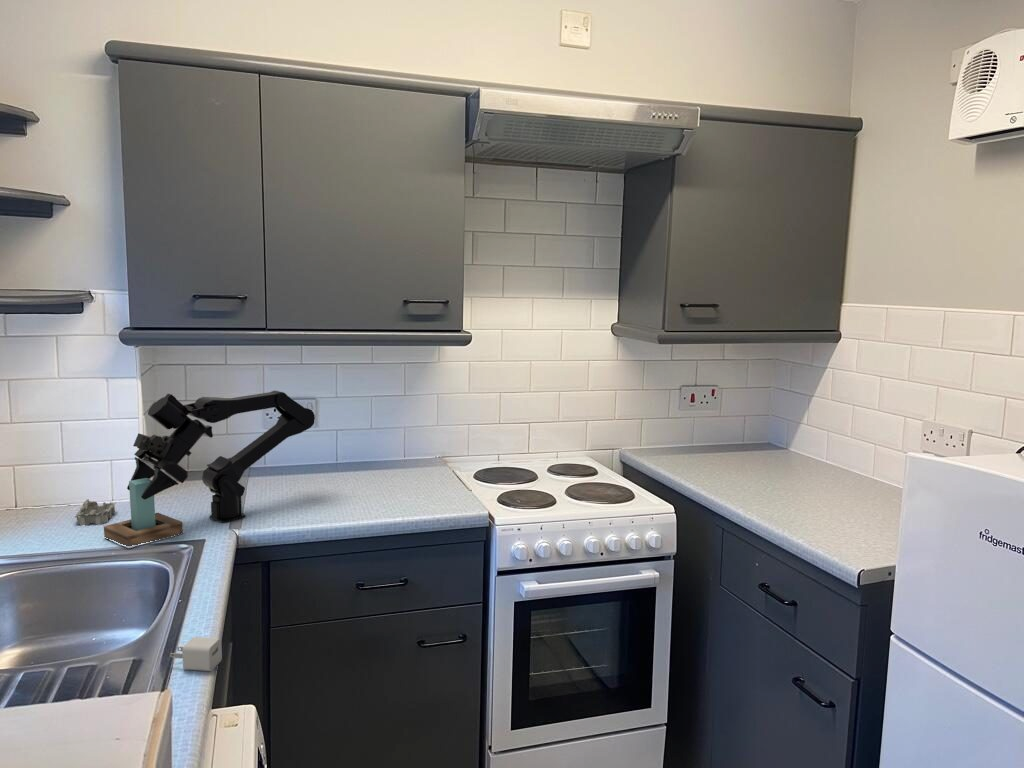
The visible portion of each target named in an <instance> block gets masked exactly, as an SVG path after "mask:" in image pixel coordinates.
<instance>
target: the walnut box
mask: <svg viewBox="0 0 1024 768" xmlns="http://www.w3.org/2000/svg"><path fill="white" fill-rule="evenodd" d="M155 523H156V526H154V527H150V528H146V529H143V530H139V531H135V530H132V525H131V518H130V519H127V520H122V521H120V522H114V523H112V524H108V525H104V526H103V534H104V535H103V536H104V537H106V538H108V539H111V540H114V541H116V542H118V543H120V544H123V545H126V546H132V545H138V544H141V543H146V542H150V541H155V540H159V539H163V538H167V537H170V538H172V537H171V536H174V535H177V536H179V535H178V534H181V533H183V534H184V529H183V527H184V526H183V525H184V523H183V521H182V520H179V519H176V518H173V517H171V516H169V515H166V514H162V513H161V512H155ZM181 535H182V534H181ZM174 537H175V536H174ZM167 539H168V538H167ZM163 540H164V539H163Z"/></svg>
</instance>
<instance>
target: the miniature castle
mask: <svg viewBox="0 0 1024 768" xmlns="http://www.w3.org/2000/svg"><path fill="white" fill-rule="evenodd" d="M116 504H117V502H111V501H110V502H109V503H106V502H103V503H102V504H101V505H98V502H97V501H95V500H92V501H91V500H89V498H87V499H86V500H85V501H84V502H83V504H82V506H81V507H80V508H79V510H78V511H77V512H76V514H75V516H74V518H75V519H76V520H77V521H76V525H77V524H80V525H79V526H81V525H85V526H87V525H91V524H90V523H95V524H94V525H96V524H100V525H102V524H101V523H103V524H107V523H108V522H109V518H110V519H112V515H115V513H116V507H115V505H116ZM106 522H107V523H106ZM86 524H87V525H86Z"/></svg>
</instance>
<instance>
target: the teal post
mask: <svg viewBox="0 0 1024 768" xmlns="http://www.w3.org/2000/svg"><path fill="white" fill-rule="evenodd" d="M151 481H152V479H151V478H150V479H148V478H144V479H138V480H132V481H130V480H129V481H128V485H129V490H130V491H129V490H128V491H129V504H130V519H131V525H132V530H135V531H139V530H143V529H146V528H150V527H154V526H156V523H155V513H156V509H155V508H156V506H155V505H156V504H155V495H153V496H151V497H149V498H147V499H145V500H144V499H143V498H141V496H142V494H143V493H144V491H145V490H146V488H147V487H148V485H149V484H150V482H151Z"/></svg>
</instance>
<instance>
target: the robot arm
mask: <svg viewBox="0 0 1024 768" xmlns="http://www.w3.org/2000/svg"><path fill="white" fill-rule="evenodd" d="M273 408H274V409H275V410H276V411H277V412H278V413H279V414H280V416H279V418H278V419H277V422H276V424H274V425H272V426H271V428H269V429H268V430H267V431H265V432H264V433H263V434H261V435H260V436H258V437H257V438H256V439H254V440H253V441H252V442H250V443H249V444H248V445H246V446H245V447H243V448H242V449H241V450H240V451H239V452H236V454H235V455H233V456H230V457H228V458H226V457H225V456H222V455H219V456H217V458H216V459H215V460H214V461H212V462H210V463H209V464H206V467H207V468H205V469H204V470H203V472H202V483H203V485H204V486H205V487H208V488H209V491H210V492H211V493H213V495H211V496H212V497H211V500H212V501H211V502H210V512H211V514H210V515H209V518H210V519H212V520H215V521H218V522H220V523H228V522H231V521H236V520H238V519H242V518H245V517H246V514H245V513H243V510H242V507H243V506H242V497H243V496H244V493H245V490H246V488H245V486H243V485H242V484H241V483H239V482H240V480H241V479H242V476H243V475H244V473H245V471H246V470H248V469H249V468H250V467H251V466H252V465H254V464H256V463H257V462H258V461H259V460H261V459H262V458H263V457H264V456H265V455H267V454H268V453H270V451H271V452H272V450H273V449H274V448H276V447H277V446H278V445H280V444H281V443H282V442H284V441H285V440H287V439H288V438H289V437H292V436H296V435H299V434H301V433H303V432H306V431H307V430H309V429H310V428H312V427H313V426H314V424H315V419H316V418H315V417H316V416H315V413H314V411H313V410H312V409H310V408H307V407H304V406H303V405H301V404H300V403H299V402H297V401H295V399H292V398H291V397H290V396H289V395H288V394H286V393H285V392H284V391H279V390H272V391H269V392H268V391H267V392H263V393H257V394H256V393H255V394H249V395H244V396H243V395H242V396H236V397H218V396H217V397H215V396H202V397H199V398H197V399H196V400H195V402H191V403H188V404H183V403H181V402H180V401H179V400H178V398H176V397H175V396H174V395H173V394H171V393H167V394H166V395H165V396H163V397H161V398H160V399H158V400H157V401H155V402H153V403H152V404H151V406H150V407H149V409H148V411H147V414H148V416H149V417H150V418H151V419H153V420H154V421H155V422H157V423H158V424H160V425H161V426H162V427H163V428H164V429H166V430H172V429H173V432H172V433H171V434H170V435H163V436H160V435H156V434H153V435H151V436H149V435H146V434H143V433H138V434H137V436H136V438H135V440H134V443H133V445H132V446H133V447H136V448H137V449H138V450H137V451H135V453H134V456H135V457H134V460H135V465H136V467H135V470H134V472H133V474H132V476H131V479H130V480H129V481H132V480H138V479H144V478H148V479H150V480H152V481H151V482H150V484H149V485H148V487H147V488H146V490H145V491H144V493H143V494H142V496H141V498H143V499H144V500H145V499H147V498H149V497H151V496H153V495H154V496H155V495H157V494H159V493H161V492H163V491H165V490H168V489H170V488H172V487H174V486H178V485H179V483H181V484H183V483H184V482H185V481H186V480H187V479H188V476H189V474H188V471H187V470H186V469H185V468H183V467H182V466H181V465H179V464H180V463H181V461H182V460H183V459H184V458H185V456H188V457H190V455H191V454H192V452H191V451H190V450H192V448H193V447H194V446H195V445H196V444H197V442H198V441H199V440H200V439H201V438H202V437H203V436H205V437H208V438H210V439H211V438H213V437H214V433H213V426H211V425H205V424H203V422H201V421H204V422H206V423H210V424H216V423H218V422H221V421H224V420H227V419H229V418H231V417H232V416H235V415H237V414H238V415H239V414H243V413H249V412H254V411H255V412H256V411H260V410H267V409H273ZM189 416H191V417H194V418H197V419H192V418H190V417H189ZM200 420H201V421H200ZM126 489H127V490H128V491H129V492H130V490H129V484H128V485H127V487H126Z"/></svg>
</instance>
